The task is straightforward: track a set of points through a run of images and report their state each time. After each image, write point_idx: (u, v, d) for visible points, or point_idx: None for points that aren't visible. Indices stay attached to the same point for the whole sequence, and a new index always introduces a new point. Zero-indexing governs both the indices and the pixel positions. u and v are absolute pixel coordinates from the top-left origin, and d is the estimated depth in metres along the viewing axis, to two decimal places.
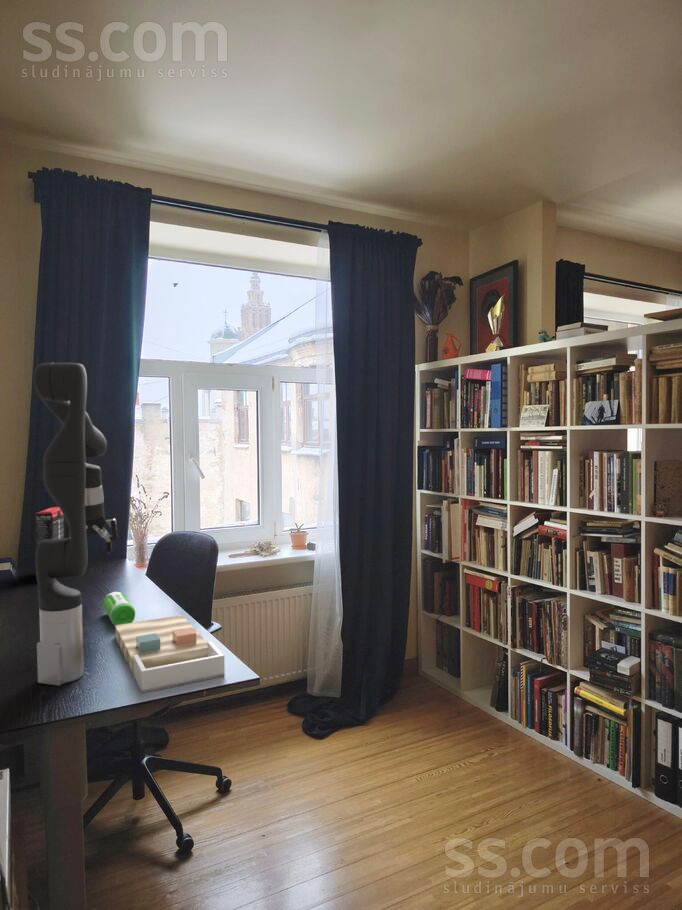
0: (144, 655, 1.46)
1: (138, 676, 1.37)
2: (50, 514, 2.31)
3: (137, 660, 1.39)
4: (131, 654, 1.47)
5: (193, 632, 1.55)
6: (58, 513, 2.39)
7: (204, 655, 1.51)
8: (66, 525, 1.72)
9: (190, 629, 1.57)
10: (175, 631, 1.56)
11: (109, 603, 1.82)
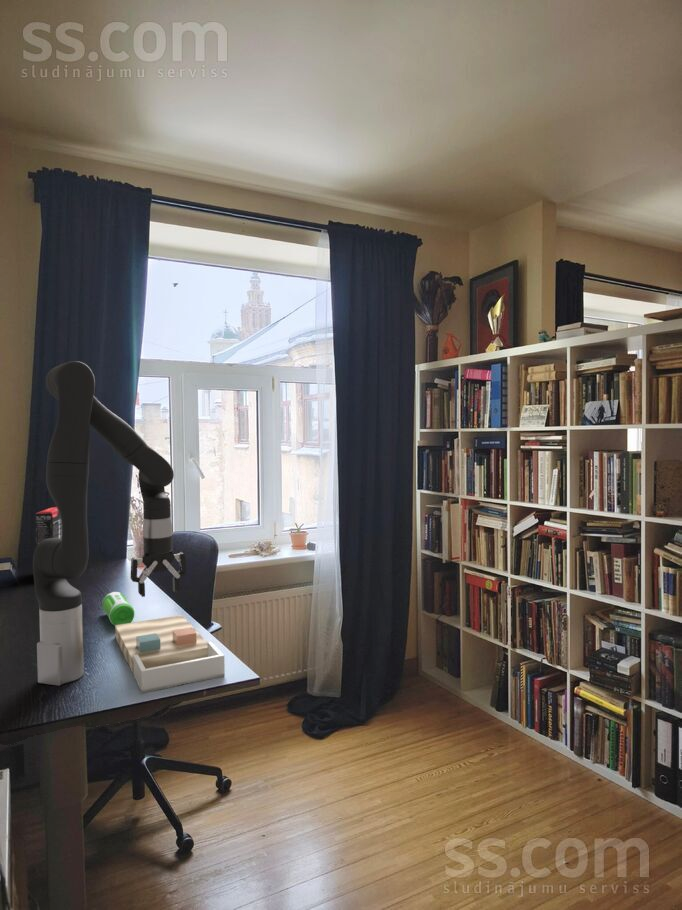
0: (144, 655, 1.46)
1: (138, 676, 1.37)
2: (50, 514, 2.31)
3: (137, 660, 1.39)
4: (131, 654, 1.47)
5: (193, 632, 1.55)
6: (58, 513, 2.39)
7: (204, 655, 1.51)
8: (134, 562, 1.56)
9: (190, 629, 1.57)
10: (175, 631, 1.56)
11: (108, 603, 1.82)
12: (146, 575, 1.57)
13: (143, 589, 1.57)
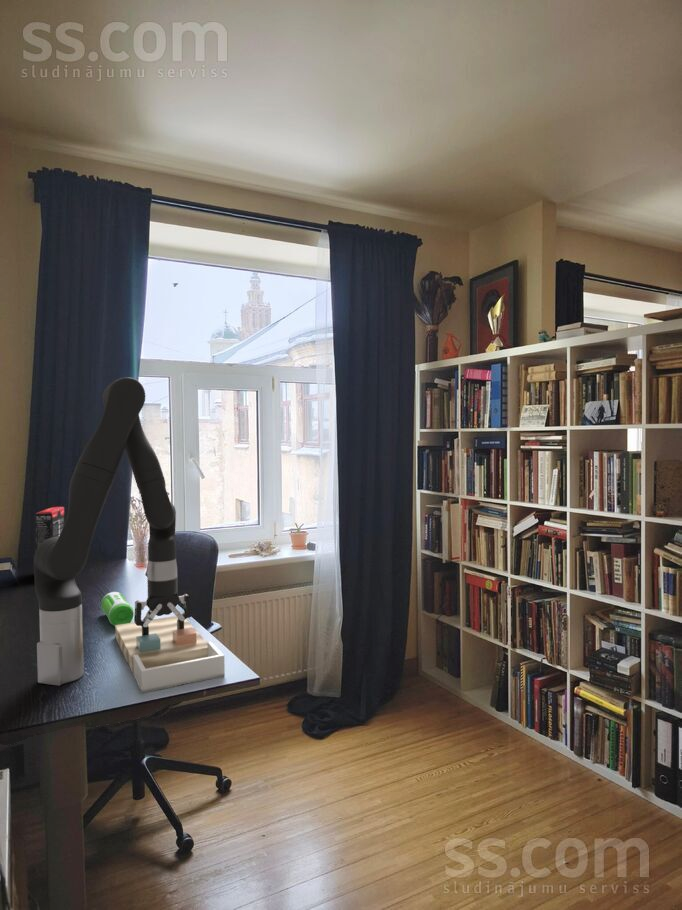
0: (144, 655, 1.46)
1: (138, 676, 1.37)
2: (50, 514, 2.31)
3: (137, 660, 1.39)
4: (131, 654, 1.47)
5: (193, 632, 1.55)
6: (58, 513, 2.39)
7: (204, 655, 1.51)
8: (138, 606, 1.52)
9: (190, 629, 1.57)
10: (175, 631, 1.56)
11: (107, 603, 1.82)
12: (150, 619, 1.53)
13: (147, 633, 1.54)
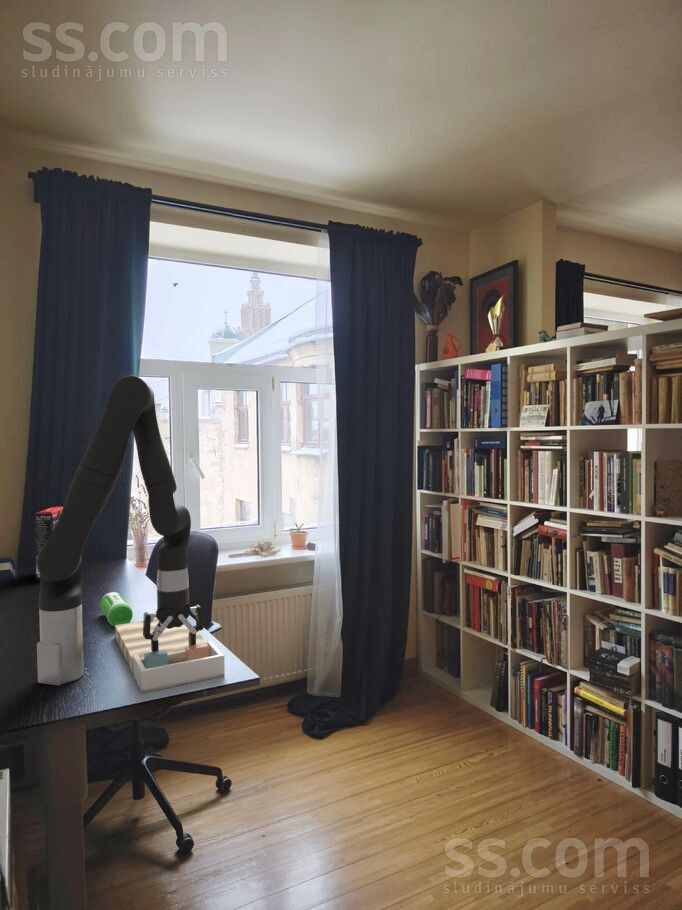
0: None
1: (138, 676, 1.37)
2: (50, 514, 2.31)
3: (137, 660, 1.39)
4: (131, 654, 1.47)
5: None
6: (58, 513, 2.39)
7: None
8: (147, 618, 1.42)
9: (205, 652, 1.46)
10: (190, 654, 1.44)
11: (106, 604, 1.82)
12: (160, 632, 1.43)
13: (157, 647, 1.44)
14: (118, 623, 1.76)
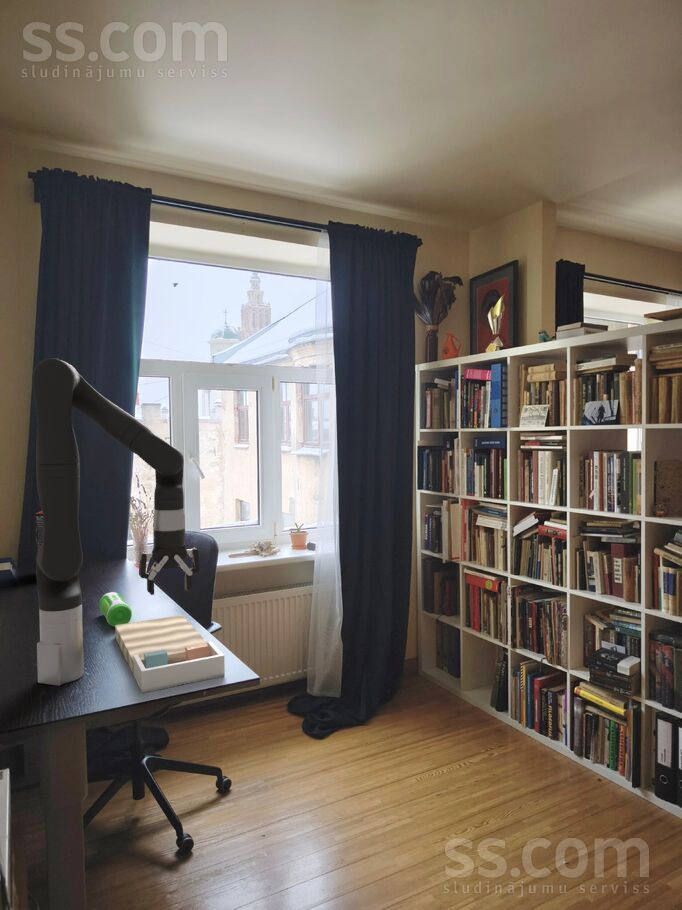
0: None
1: (138, 676, 1.37)
2: None
3: (137, 660, 1.39)
4: (131, 654, 1.47)
5: None
6: None
7: None
8: (143, 557, 1.43)
9: (205, 652, 1.46)
10: (190, 654, 1.44)
11: (105, 604, 1.82)
12: (156, 571, 1.44)
13: (152, 586, 1.44)
14: (117, 623, 1.76)
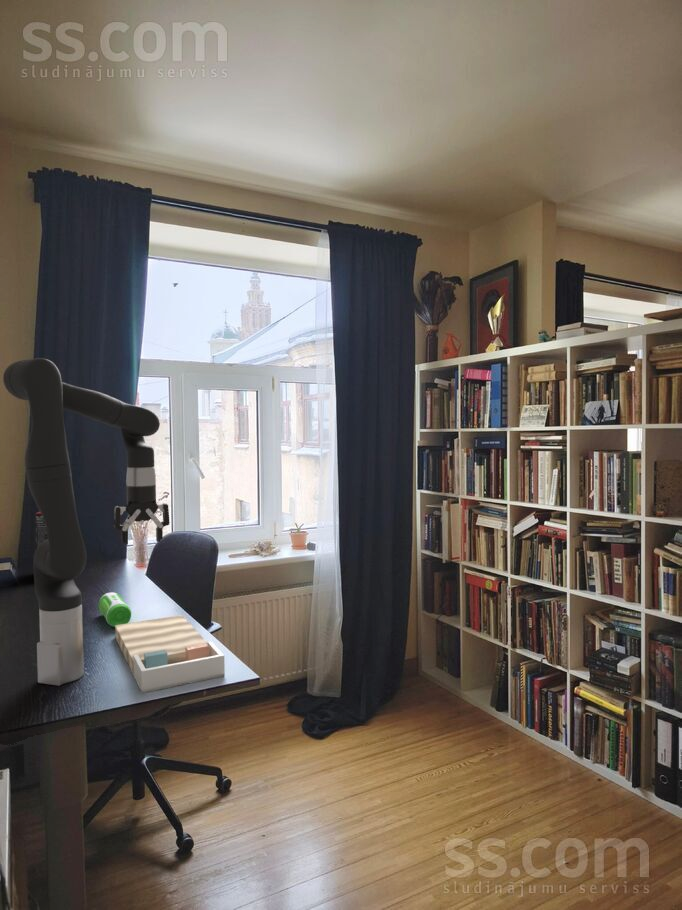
0: None
1: (138, 676, 1.37)
2: None
3: (137, 660, 1.39)
4: (131, 654, 1.47)
5: None
6: None
7: None
8: (117, 510, 1.58)
9: (205, 652, 1.46)
10: (190, 654, 1.44)
11: (105, 604, 1.82)
12: (129, 523, 1.59)
13: (126, 537, 1.59)
14: (117, 623, 1.76)
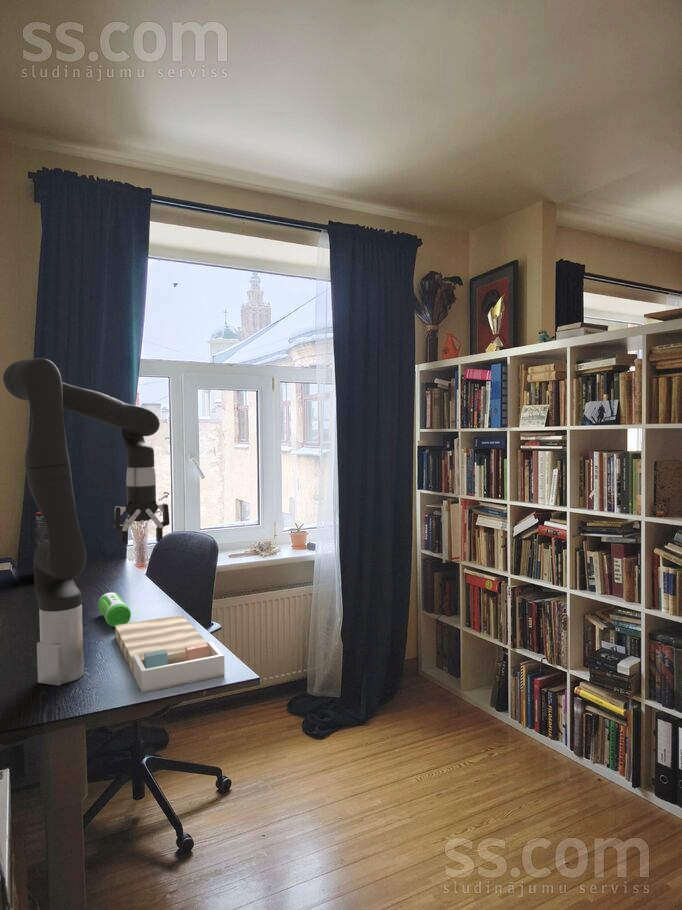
0: None
1: (138, 676, 1.37)
2: None
3: (137, 660, 1.39)
4: (131, 654, 1.47)
5: None
6: None
7: None
8: (117, 510, 1.58)
9: (205, 652, 1.46)
10: (190, 654, 1.44)
11: (104, 604, 1.82)
12: (129, 523, 1.59)
13: (126, 537, 1.59)
14: (116, 623, 1.76)
